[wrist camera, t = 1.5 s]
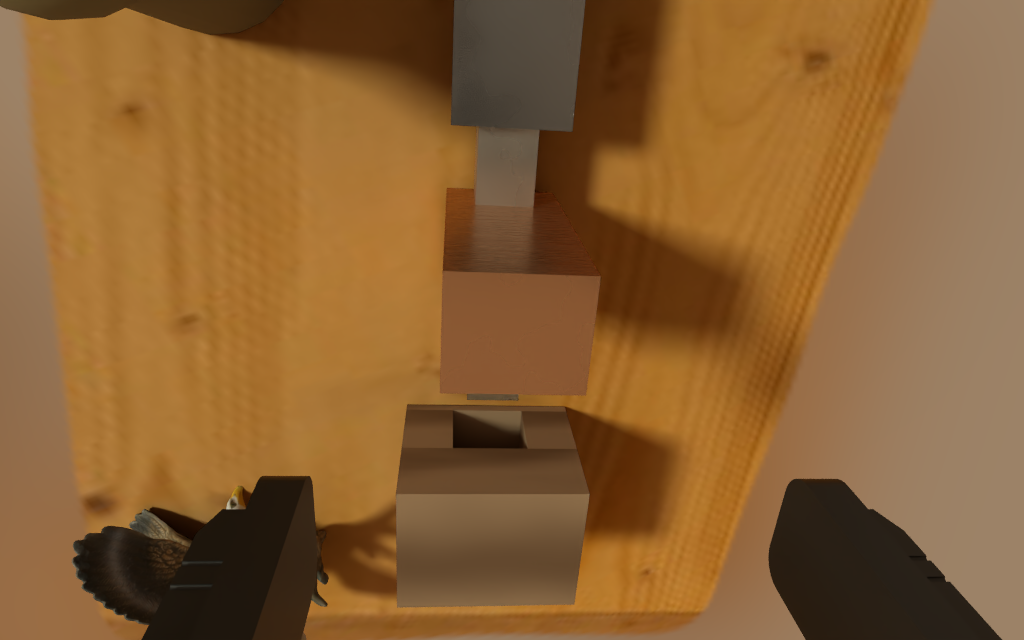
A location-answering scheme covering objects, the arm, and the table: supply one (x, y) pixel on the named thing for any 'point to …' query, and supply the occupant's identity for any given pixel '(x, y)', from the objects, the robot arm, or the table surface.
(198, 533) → the robot arm
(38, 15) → the olive green pawn
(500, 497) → the socket block
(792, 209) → the table surface
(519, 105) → the sleeve
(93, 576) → the eagle figurine
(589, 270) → the bar
